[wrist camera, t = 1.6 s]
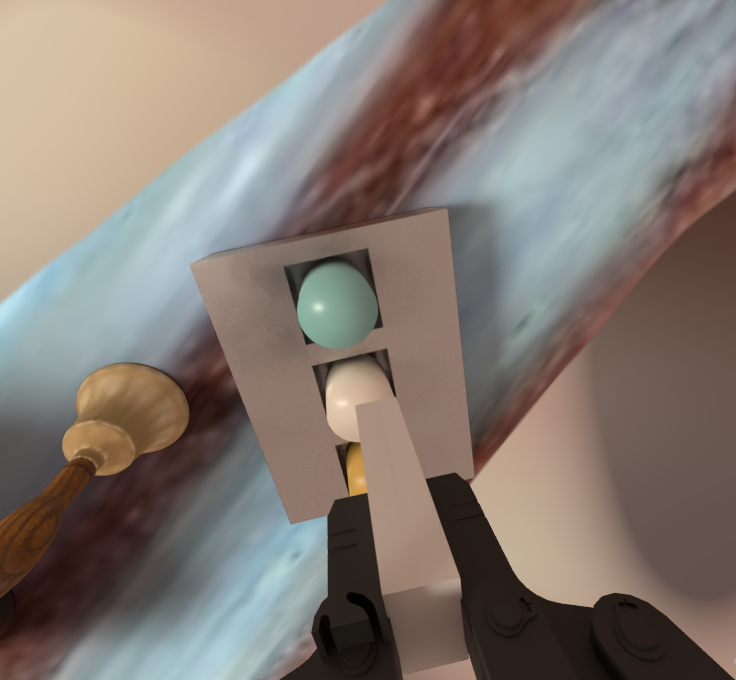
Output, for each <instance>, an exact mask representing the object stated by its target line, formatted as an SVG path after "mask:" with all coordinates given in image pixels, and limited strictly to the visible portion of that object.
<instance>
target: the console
mask: <svg viewBox="0 0 736 680" xmlns="http://www.w3.org/2000/svg"><path fill="white" fill-rule="evenodd" d="M330 259H339V260H344V261H347V262H349V263H351V264H353V265H354V266H355V267H357V268H358V269H359V270H360V272H361V273H362V274H363V276H364V277H365V279H366V281H367V282H368V284H369V286H370V287H371V289H372V291H373V292H374V294H375V297H376V300H377V305H378V315H377V320H376V323H375V325H374V327H373V329H372V331H371V332H370V333H369V335H368V336H367V337H366V338H365V339H363V340H362V341H361V342H359V343H358V344H356V345H353V346H351V347H347V348H342V349H333V348H327V347H324V346H321V345H319V344H317V343H315V342H314V341H312V340H311V339H310V338H309V337H308V336H307V335H306V334H305V332H304V331H303V329H302V328H301V326H300V323H299V320H298V315H297V306H298V301H299V296H300V291H301V286H302V282H303V279H304V277H305V275H306V274H307V272H308V271H309V270H310V269H311V268H312V267H313V266H314V265H316V264H318V263H320V262H322V261H325V260H330ZM190 267H191V270H192V272H193V275H194V277H195V280H196V282H197V285H198V288H199V290H200V293H201V295H202V298H203V300H204V303H205V305H206V308H207V311H208V313H209V316H210V318H211V321H212V323H213V326H214V329H215V331H216V334H217V336H218V339H219V341H220V344H221V346H222V349H223V352H224V354H225V357H226V359H227V362H228V364H229V367H230V370H231V372H232V375H233V377H234V380H235V382H236V385H237V388H238V390H239V393H240V395H241V398H242V400H243V403H244V405H245V408H246V411H247V413H248V416H249V418H250V421H251V423H252V426H253V429H254V431H255V434H256V436H257V439H258V441H259V444H260V446H261V449H262V452H263V454H264V457H265V459H266V462H267V464H268V467H269V470H270V472H271V475H272V477H273V480H274V482H275V485H276V488H277V490H278V493H279V495H280V498H281V500H282V503H283V505H284V508H285V511H286V513H287V516H288V518H289V521H290V523H291V524H295V523H298V522H302V521H306V520H310V519H314V518H318V517H322V516H326V515H328V514H329V512H330V510H331V507H332V505H333V503H334V500H336V499H341V498H346V497H350V494H349V485H348V475H347V466H346V457H345V452H346V447H347V445H348V443H349V442H352V441H348V440H345V439H343V438H341V437H339V436H338V435H336V434H335V433H334V432H333V430H332V429H331V428H330V426H329V424H328V421H327V410H326V385H325V379H326V374H327V371H328V369H329V367H330V366H331V364H332V363H333V362H334V361H335V360H339V359H343V358H348V357H352V356H356V355H360V354H367V355H370V356H372V357H374V358H375V359H376V360H377V361H378V362H379V363H380V364H381V365H382V367H383V369H384V372H385V374H386V377H387V379H388V382H389V385H390V387H391V390H392V392H393V395H394V397H396V398H397V401H398V404H399V407H400V410H401V413H402V415H403V418H404V421H405V424H406V427H407V429H408V432H409V435H410V438H411V441H412V444H413V446H414V449H415V452H416V455H417V458H418V460H419V463H420V466H421V469H422V472H423V475H424V477H425V479H427V478H431V477H436V476H440V475H445V474H449V473H454V472H456V473H457V474H458V475H459V476H460V477H462V478H463V479H464V480H466V479H470V478H474V477H475V476H474V466H473V456H472V446H471V436H470V426H469V416H468V406H467V396H466V386H465V376H464V367H463V357H462V347H461V337H460V327H459V317H458V307H457V297H456V287H455V277H454V267H453V257H452V247H451V237H450V227H449V217H448V208H428V207H427V208H422V209H417V210H413V211H408V212H403V213H399V214H394V215H390V216H385V217H380V218H376V219H371V220H366V221H362V222H357V223H352V224H348V225H343V226H339V227H334V228H329V229H325V230H320V231H315V232H311V233H306V234H301V235H297V236H292V237H288V238H283V239H278V240H274V241H269V242H264V243H260V244H255V245H250V246H246V247H241V248H237V249H232V250H227V251H223V252H218V253H213V254H210V255H208V256H206V257H204V258H202V259H199V260H197V261H195V262H193V263H191V264H190Z"/></svg>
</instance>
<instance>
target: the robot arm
mask: <svg viewBox="0 0 736 680" xmlns="http://www.w3.org/2000/svg"><path fill="white" fill-rule="evenodd" d="M355 408H356V415H357V422H358V429H359V436H360V443H361V451H362V458H363V465H364V472H365V479H366V486H367V493H364V494H359V495H355V496H350V497H346V498H341V499H336V500H334V503H333V505H332V507H331V510H330V512H329V514H328V597H327V598H326V599H325V600H324V601H323V602H322V603H321V605H320V607H319V609H318V611H317V613H316V614H315V616H314V621H313V626H312V632H311V633H312V636H313V638H314V641H315V643H316V646H317V649H316V650H315V652H314V653H313V654H312V655H311V656H310V658H309V659H308V660H306V661H305V662H304V663H303V664H302V665H301V666H299V667H298V668H296V669H295V670H293V671H292V672H290V673H289V674H287V675H286V676H285V677H283V678H282V679H280V680H403V677H402V675H405V674H409V673H413V672H417V671H421V670H426V669H430V668H434V667H438V666H442V665H446V664H450V663H454V662H458V661H463V660H467V659H469V656H470V659H471V662H472V666H473V669H474V672H475V675H476V678H477V680H735V679H733V678H732V677H731V676H730V675H729V674H728V673H727V672H726V671H725V670H724V669H723V668H722V667H720V665H718V664H717V663H716V662H715V661H714V660H713V659H712V658H711V657H710V656H708V654H707V653H705V652H704V651H703V650H702V649H701V648H700V647H699V646H698V645H697V644H696V643H695V642H694V641H692V640H691V639H690V638H689V637H688V636H687V635H686V634H685V633H684V632H683V631H682V630H681V629H679V628H678V627H677V626H676V625H675V624H674V623H673V622H672V621H671V620H670V619H669V618H668V617H667V616H665V615H664V614H663V613H661V612H660V611H659V610H657V609H656V608H655V607H653V606H652V605H651V604H649V603H648V602H646V601H643V600H641V599H639V598H636V597H634V596H631V595H627V594H619V593H613V594H609V595H605V596H602V597H601V598H600V599H599V600H598V601H597V602H596V604H595V605H594V608H591V607H584V606H576V605H569V604H561V603H557V602H553V601H549V600H546V599H544V598H542V597H540V596H538V595H536V594H535V593H533V592H532V591H530V590H529V589H528V588H526V587H525V585H524V584H523V583H521V581H520V580H519V579H518V578H517V576H516V575H515V573H514V572H513V570H512V568H511V566H510V564H509V562H508V560H507V558H506V556H505V554H504V552H503V550H502V548H501V546H500V544H499V542H498V540H497V538H496V536H495V535H494V532H493V530H492V528H491V526H490V524H489V522H488V520H487V519H486V517H485V515H484V513H483V510H482V508H481V506H480V504H479V503H478V501H477V499H476V497H475V495H474V493H473V491H472V489H471V487H470V485H469V484H468V483H467V482H466V481H465V480H464V479H463V478H462V477H460V476H459V475H458V474H457V473H456V472H454V473H449V474H445V475H440V476H436V477H431V478H427V479H425V477H424V475H423V472H422V469H421V466H420V463H419V460H418V458H417V455H416V452H415V449H414V446H413V444H412V441H411V438H410V435H409V432H408V429H407V427H406V424H405V421H404V418H403V415H402V413H401V410H400V407H399V404H398V401H397V398H396V397H392V398H387V399H383V400H378V401H373V402H368V403H364V404H359V405H355ZM13 615H14V600H13V597H12V595H11V593H10V591H8V592H7V593H5V594H4V595H3V596H2V597H1V598H0V637H1V635H2V634H3V633H4V631H5V630H6V629H7V627H8V626H9V624H10V623H11V621H12V618H13ZM468 653H469V656H468Z"/></svg>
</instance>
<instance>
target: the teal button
mask: <svg viewBox="0 0 736 680" xmlns="http://www.w3.org/2000/svg"><path fill="white" fill-rule="evenodd" d="M297 315H298V320H299V323H300V326H301V328H302V329H303V331H304V332H305V334H306V335H307V336H308V337H309V338H310V339H311V340H312V341H314V342H315V343H317V344H319V345H321V346H324V347H327V348H333V349H342V348H347V347H351V346H353V345H356V344H358V343H359V342H361V341H362V340H363V339H365V338H366V337H367V336H368V335H369V333H370V332H371V331H372V329H373V327H374V325H375V323H376V320H377V315H378V305H377V300H376V297H375V294H374V292H373V291H372V289H371V287H370V286H369V284H368V282H367V281H366V279H365V277H364V276H363V274H362V273H361V272H360V270H359V269H358V268H357V267H355V266H354V265H353V264H351V263H349V262H347V261H344V260H339V259H330V260H325V261H322V262H320V263H318V264H316V265H314V266H313V267H312V268H311V269H310V270H309V271H308V272H307V274H306V275H305V277H304V279H303V282H302V286H301V291H300V296H299V301H298V306H297Z"/></svg>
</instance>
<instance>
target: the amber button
mask: <svg viewBox="0 0 736 680" xmlns="http://www.w3.org/2000/svg"><path fill="white" fill-rule="evenodd" d="M345 457H346V466H347V475H348V485H349V494H350V496H355V495H359V494H364V493H367V486H366V479H365V472H364V465H363V458H362V451H361V443H360V442H349V443H348V445H347V447H346V452H345Z"/></svg>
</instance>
